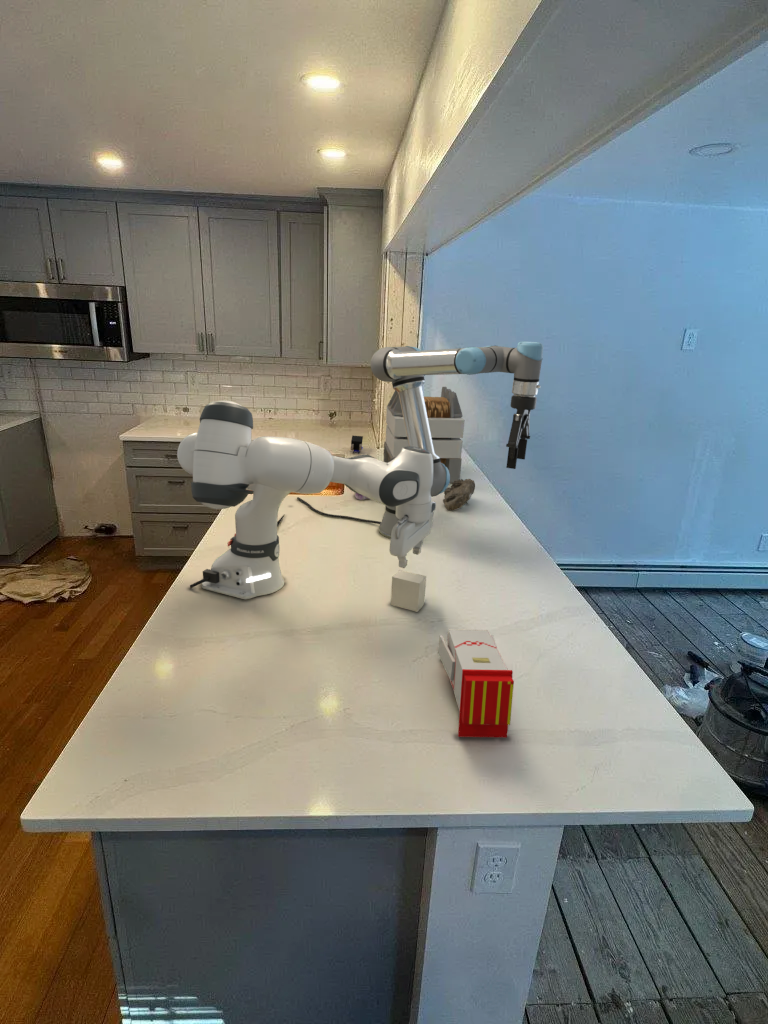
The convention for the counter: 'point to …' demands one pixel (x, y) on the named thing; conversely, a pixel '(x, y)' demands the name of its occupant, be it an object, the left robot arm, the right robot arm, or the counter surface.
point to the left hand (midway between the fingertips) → (409, 559)
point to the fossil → (458, 494)
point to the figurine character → (356, 443)
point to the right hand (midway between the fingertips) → (515, 463)
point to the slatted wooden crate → (442, 427)
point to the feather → (279, 521)
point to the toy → (478, 682)
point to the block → (408, 590)
